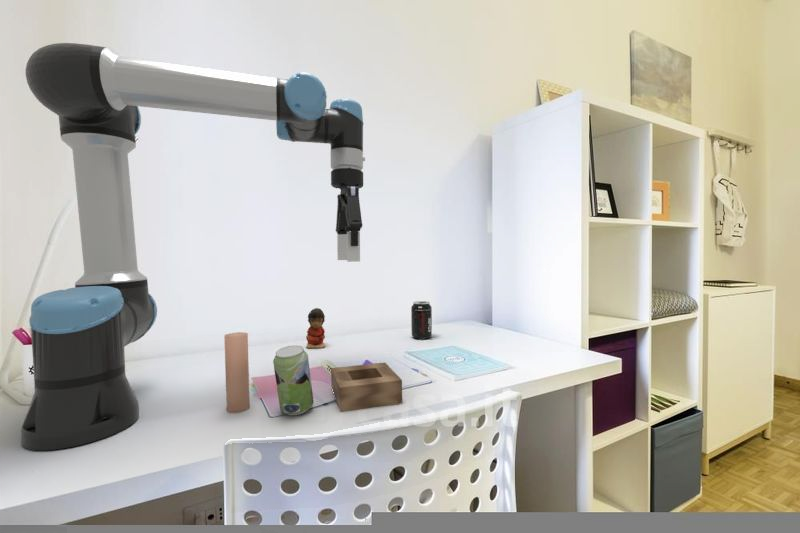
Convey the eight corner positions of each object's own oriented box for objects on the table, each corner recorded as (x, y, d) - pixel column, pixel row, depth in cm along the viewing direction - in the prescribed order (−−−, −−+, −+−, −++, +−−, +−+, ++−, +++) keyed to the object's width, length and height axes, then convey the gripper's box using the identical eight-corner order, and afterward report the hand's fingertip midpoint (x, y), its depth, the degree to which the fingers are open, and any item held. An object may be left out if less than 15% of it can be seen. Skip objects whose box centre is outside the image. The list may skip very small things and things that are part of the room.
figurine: (302, 346, 116) (301, 308, 115) (318, 343, 120) (317, 306, 119) (312, 350, 111) (311, 310, 111) (328, 347, 115) (328, 308, 114)
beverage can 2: (435, 338, 125) (435, 302, 124) (418, 341, 121) (418, 304, 121) (424, 334, 131) (424, 300, 130) (407, 337, 127) (407, 301, 127)
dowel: (225, 413, 68) (222, 337, 68) (228, 405, 72) (225, 333, 72) (248, 410, 70) (246, 336, 69) (250, 402, 73) (248, 331, 73)
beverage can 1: (319, 405, 72) (317, 343, 71) (300, 422, 65) (298, 353, 64) (289, 402, 73) (287, 341, 73) (267, 419, 66) (266, 352, 65)
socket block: (340, 411, 69) (339, 387, 69) (331, 388, 80) (331, 368, 80) (402, 402, 72) (401, 380, 72) (385, 382, 84) (385, 362, 84)
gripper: (376, 159, 77) (376, 262, 78) (352, 180, 101) (353, 259, 102) (339, 156, 75) (340, 262, 76) (324, 179, 99) (325, 259, 99)
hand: (348, 260), depth 89 cm, fingers open, 13 cm apart
